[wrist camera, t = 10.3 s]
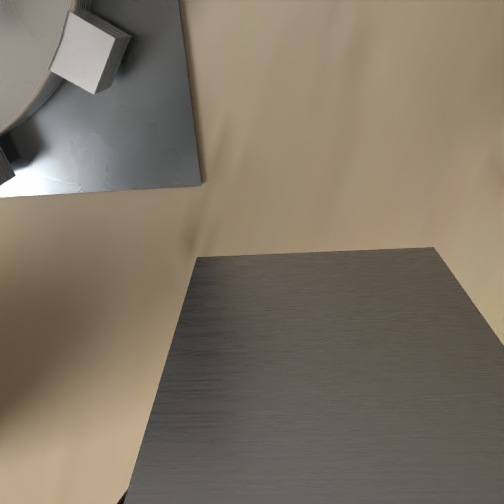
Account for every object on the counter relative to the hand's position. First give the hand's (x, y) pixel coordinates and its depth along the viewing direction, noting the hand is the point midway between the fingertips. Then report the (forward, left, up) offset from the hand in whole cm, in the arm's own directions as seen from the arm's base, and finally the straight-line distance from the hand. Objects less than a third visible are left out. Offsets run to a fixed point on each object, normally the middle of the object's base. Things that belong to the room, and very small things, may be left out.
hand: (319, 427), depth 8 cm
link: (0, 0, -1) cm, 1 cm away
